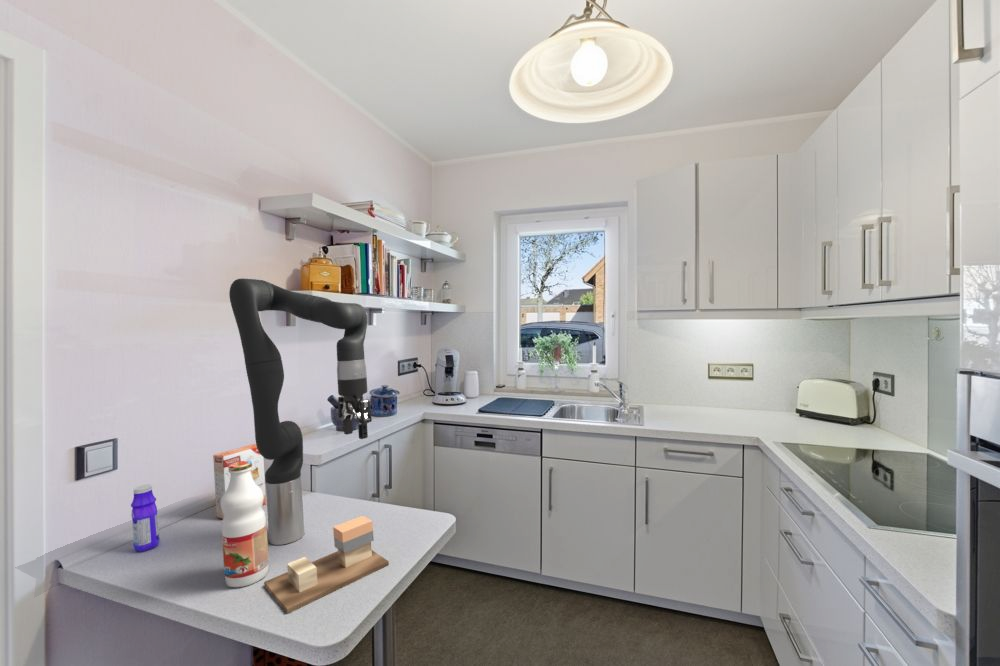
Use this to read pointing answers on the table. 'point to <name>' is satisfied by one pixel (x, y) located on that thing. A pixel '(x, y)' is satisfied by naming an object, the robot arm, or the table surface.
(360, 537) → the housing base
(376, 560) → the twin stand
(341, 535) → the cover
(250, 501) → the fruit juice
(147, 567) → the table surface
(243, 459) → the cracker box
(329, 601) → the table surface
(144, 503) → the bottle
